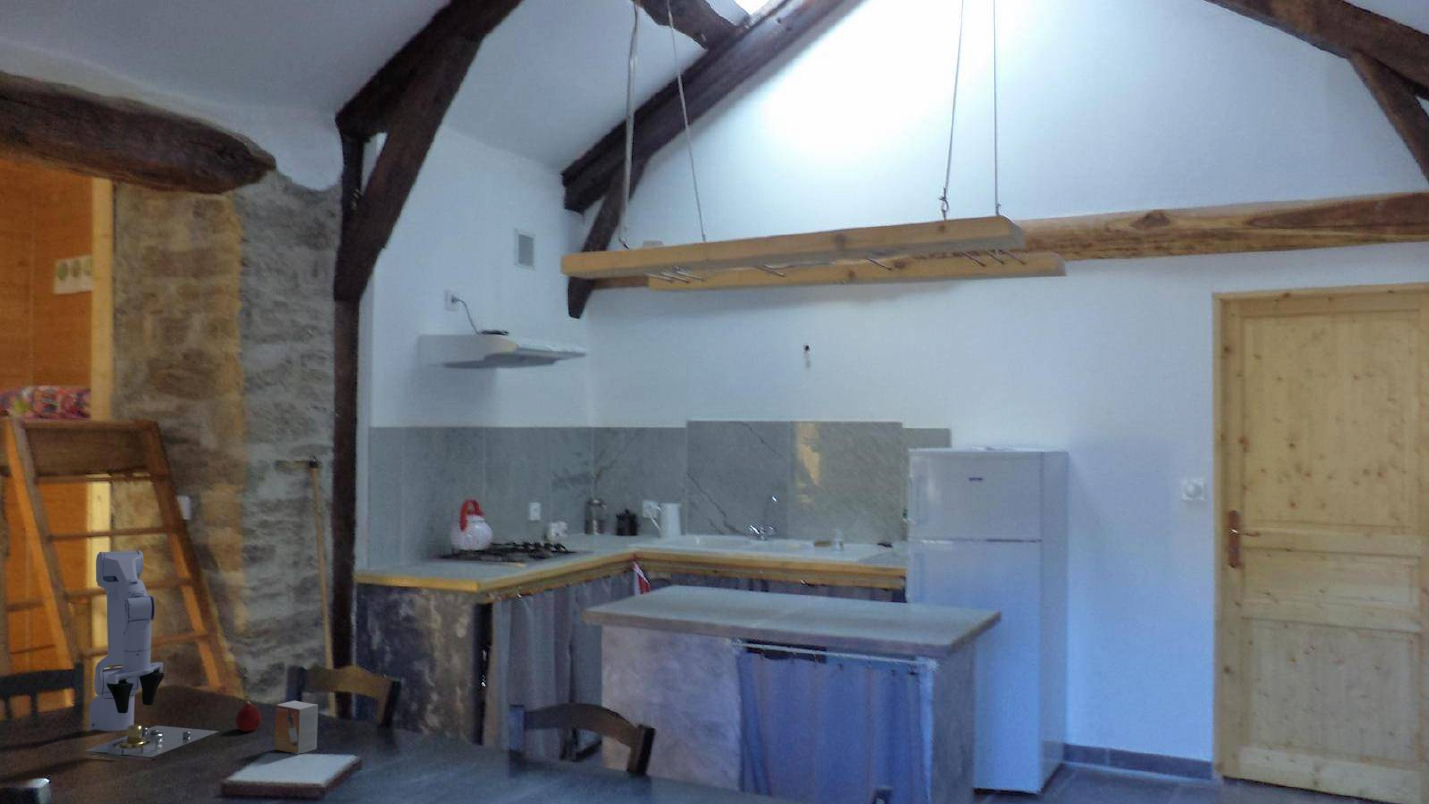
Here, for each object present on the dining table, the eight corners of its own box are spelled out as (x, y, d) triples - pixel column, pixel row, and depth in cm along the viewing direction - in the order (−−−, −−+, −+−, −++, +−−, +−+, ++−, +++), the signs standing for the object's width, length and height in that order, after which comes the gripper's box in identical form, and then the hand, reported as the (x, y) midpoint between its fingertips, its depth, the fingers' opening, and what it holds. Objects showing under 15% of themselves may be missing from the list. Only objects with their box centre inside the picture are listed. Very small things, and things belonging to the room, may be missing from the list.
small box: (273, 750, 253) (275, 704, 253) (293, 744, 258) (294, 699, 258) (298, 755, 249) (299, 709, 250) (317, 749, 254) (318, 703, 255)
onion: (265, 731, 269) (266, 698, 269) (253, 737, 263) (254, 704, 263) (243, 730, 269) (243, 698, 269) (230, 736, 263) (231, 703, 264)
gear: (113, 750, 248) (113, 728, 248) (134, 743, 254) (134, 721, 254) (133, 753, 246) (134, 730, 246) (154, 746, 252) (155, 724, 252)
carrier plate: (82, 755, 247) (82, 741, 247) (156, 729, 269) (156, 716, 269) (148, 762, 243) (149, 747, 243) (218, 735, 265) (219, 721, 265)
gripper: (127, 656, 243) (125, 717, 243) (174, 644, 257) (172, 702, 257) (101, 654, 245) (99, 715, 244) (149, 642, 259) (147, 700, 258)
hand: (135, 708), depth 251 cm, fingers open, 7 cm apart
